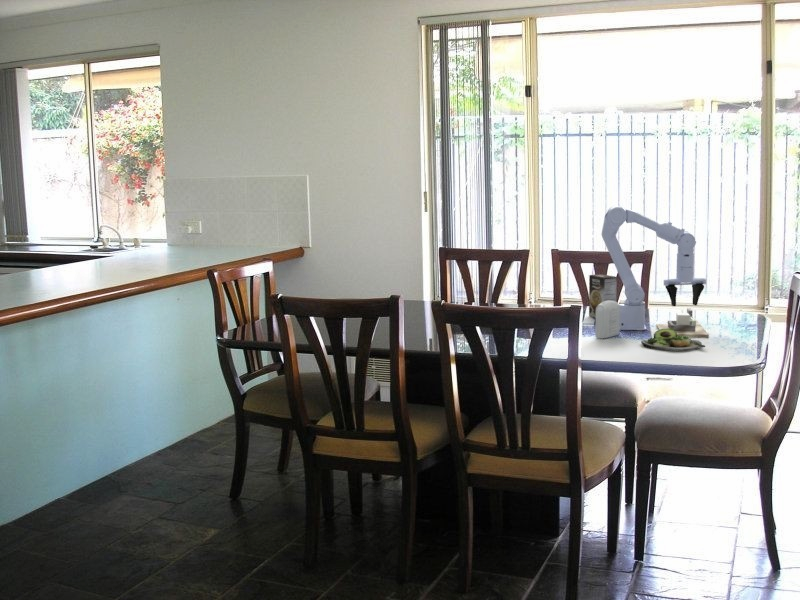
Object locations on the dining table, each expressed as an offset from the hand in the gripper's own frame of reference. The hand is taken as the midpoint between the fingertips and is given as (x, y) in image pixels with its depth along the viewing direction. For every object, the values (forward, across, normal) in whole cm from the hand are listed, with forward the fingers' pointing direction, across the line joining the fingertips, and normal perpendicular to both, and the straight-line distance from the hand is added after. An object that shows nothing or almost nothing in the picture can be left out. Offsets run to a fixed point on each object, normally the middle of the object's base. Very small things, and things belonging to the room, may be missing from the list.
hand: (684, 305), depth 305 cm
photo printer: (+9, +30, +7) cm, 32 cm away
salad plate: (+9, +15, +25) cm, 31 cm away
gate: (+7, -5, -5) cm, 10 cm away
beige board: (+8, +1, -1) cm, 9 cm away
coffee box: (+9, +20, -28) cm, 36 cm away
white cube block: (+7, +2, +4) cm, 9 cm away
